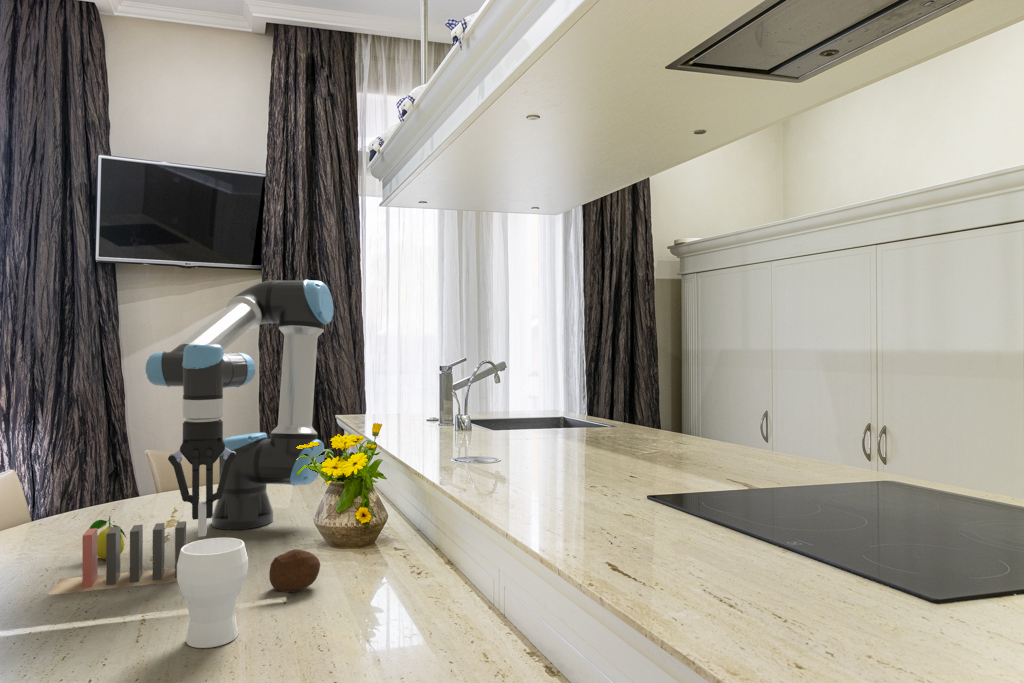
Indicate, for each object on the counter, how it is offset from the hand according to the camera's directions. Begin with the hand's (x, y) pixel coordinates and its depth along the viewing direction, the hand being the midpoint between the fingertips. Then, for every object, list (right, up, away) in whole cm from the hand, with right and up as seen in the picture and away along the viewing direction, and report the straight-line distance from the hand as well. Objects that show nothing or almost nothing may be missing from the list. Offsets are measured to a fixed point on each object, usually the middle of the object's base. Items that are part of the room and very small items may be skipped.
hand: (202, 534), depth 143 cm
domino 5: (-4, -8, -1) cm, 9 cm away
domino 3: (-11, -8, -4) cm, 14 cm away
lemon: (-24, -9, +8) cm, 27 cm away
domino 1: (-19, -8, -7) cm, 21 cm away
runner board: (-12, -8, -5) cm, 15 cm away
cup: (+15, -9, -30) cm, 34 cm away
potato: (+22, -9, -8) cm, 25 cm away
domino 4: (-8, -8, -3) cm, 11 cm away
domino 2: (-15, -8, -6) cm, 18 cm away
